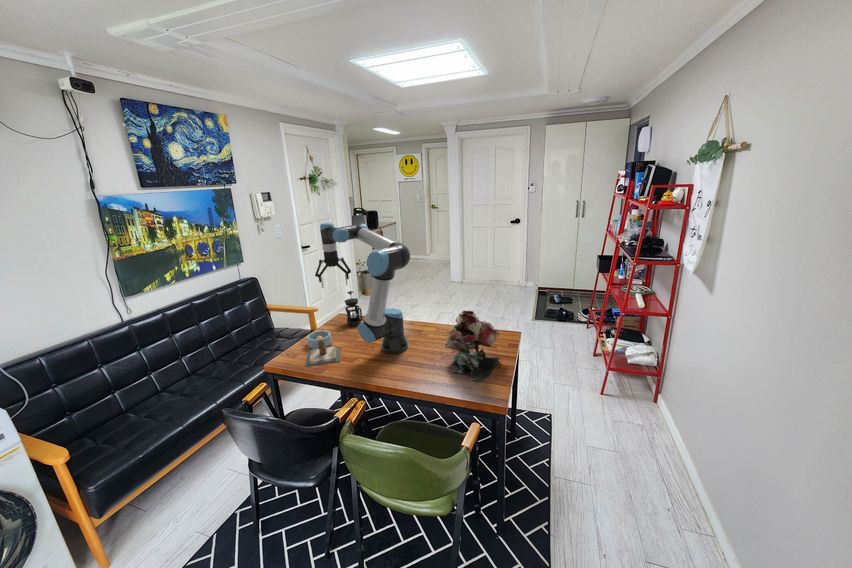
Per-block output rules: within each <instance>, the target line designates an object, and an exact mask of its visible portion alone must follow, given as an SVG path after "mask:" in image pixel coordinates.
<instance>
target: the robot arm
mask: <svg viewBox="0 0 852 568" xmlns="http://www.w3.org/2000/svg"><path fill="white" fill-rule="evenodd" d="M319 229H320V230H319V232H320V238H321V244H322V251H323V259H322V258H321V259H319V260H318V266H317V269H316V272H315V275H314V276H315V277H317V278H318V282H319V283H321V288H322V289H324V288H325V286H324V278H323V274H324V273H325V271H326V270H327V269H328V267H329V268H332V267H337V268H339V269H340V270H341V271H342V272H343V273H344V279H345V280H344V281H345V286H348V280H349V279H350V277H349V274H351V273H352V270H351V268H350V267H349V265H348V264H347V263H346V261H345V258H344V257H343V256H342V257H340V258H339V256H338V250H337V243H346V242H348V241H349V240H350V241H351V240H355V239H357V240H358V241H361V242H363V243H364V244H366V245H368V246H369V247H372V248H374V249H375V250H373V251H371V252H370V253H369V254H368V256H367V258H366V267H367V272H368V274H370V276H371V278H372V282H371V288H370V295H369V302H368V307H367V308H368V309H367V313H365V314H364V316H363V320H362V321H363V322H361V323H360V324H359V325H358V326H357V330H358V335H359V336H360V338H361V339H362V340H363V341H364V342H366V344H367V343H368V344H371V343H374V342H377V341H378V340H380V339H382V341H381V350H382V352H384V353H387V354H389V355H392V354H393V355H394V354H400V353H404V352H405V351H406V350H407V349H408V348H409V343H408V339H407V338H406V336H405V329H404V316H403V312H402V311H401V310H400V309H398V308H386V307H387V306H386V305H387V301H388V295H389V289H390V283H391V281H392V280H393V279H394V277H395V273H396V271H398V270H401V269H404V268H406V267H407V266H408V264H409V262H410V261H411V251H410V249H409V248H408V247H407V246H406V245H405V244H403V243H402V242H399V241H396V240H395V241H393V240H391V239H389V238H387V237H385V236H382V235H380V234H379V233H377V232H374V231H372V230H370V229H369V228H368V225H366V224H365V223H357V224H352V225H345V226H341V227H335V226H334V222H324V223H320V225H319ZM339 262H341V263H342V265H343V266H344V267H345V268H344V267H343V266H342V265H341V264H340V263H339ZM322 264H325V265H324V266H323V268H322V269H321V266H322ZM320 270H321V271H320ZM319 272H320V273H319Z"/></svg>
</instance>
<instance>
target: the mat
mask: <svg viewBox="0 0 852 568" xmlns="http://www.w3.org/2000/svg"><path fill="white" fill-rule="evenodd" d="M310 354H311V351H308V352H307V356H306V361H305V367H306V368H307V367H313V366H319V365H327V364H333V363H339V362H340V361H341V347H337V353H336V360H335V361H328V362H322V363H315V364H309V359H310Z"/></svg>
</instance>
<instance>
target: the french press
mask: <svg viewBox="0 0 852 568" xmlns="http://www.w3.org/2000/svg"><path fill="white" fill-rule="evenodd" d="M346 293H347V294H349V296H350V298H347V299H345V300H344V304H345V305H346V307H345V313H346V319H347V320H346V325H347V326H348V327H351V328H354V327H358V325H359V324H360V323H362V321H363V314H362V313H363V311H362V308H361V307H360V306H359V305H358V304H359V303H358V302H359V299H358V298H356V297H355V298H354V297H353V298H352V294H353V293H354V291H353V290H351V291H347V292H346ZM349 308H351V309H349ZM353 308H354V309H353Z"/></svg>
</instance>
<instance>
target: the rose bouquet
mask: <svg viewBox="0 0 852 568" xmlns="http://www.w3.org/2000/svg"><path fill="white" fill-rule="evenodd" d="M494 327H495V326H493V324H492V323H491V322H488V321H486V320H483V321H482V320H480V319H479V316H477V313H475V312H474V311H472V310H465V309H464V310H463V311H461V312H460V313H458V314H457V316H456V319H455V324H454V325H453V326H452V327H450V329H449V331H447V332H446V334H448V335H447V340H446V343H445V344H444V347H445V348H444V349H450V350H453V351H456V352H458V353H456V354H454V355H453V359H452V362H451V364H449V365H448V367H453V368H452V369H451V371H450V373H451V374H456V373H458V374H461V375H465V376H467V377H468V376H469V374H468V373H467V371H468V370H471V371H470V375H472V377H474V378H469V380H471V381H473V382H475V383H482V382H484V381H485V380H486V378H488V377H490V374H491V373H492V371H493V369H495V368H496V367H497V366H498V363H499V361H500V357H498V356H497V357H493V356H492V357H486V353H485V351H484V348H482V349H480V348H479V347H480V346H482V347H486V348H490V349H491V348H493V344H494V343H495V342H496V341H497V338H498V337H499V335H500V332H499V331H497V330H496V329H495V328H494ZM474 350H475V353H474V352H473V351H474Z"/></svg>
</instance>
